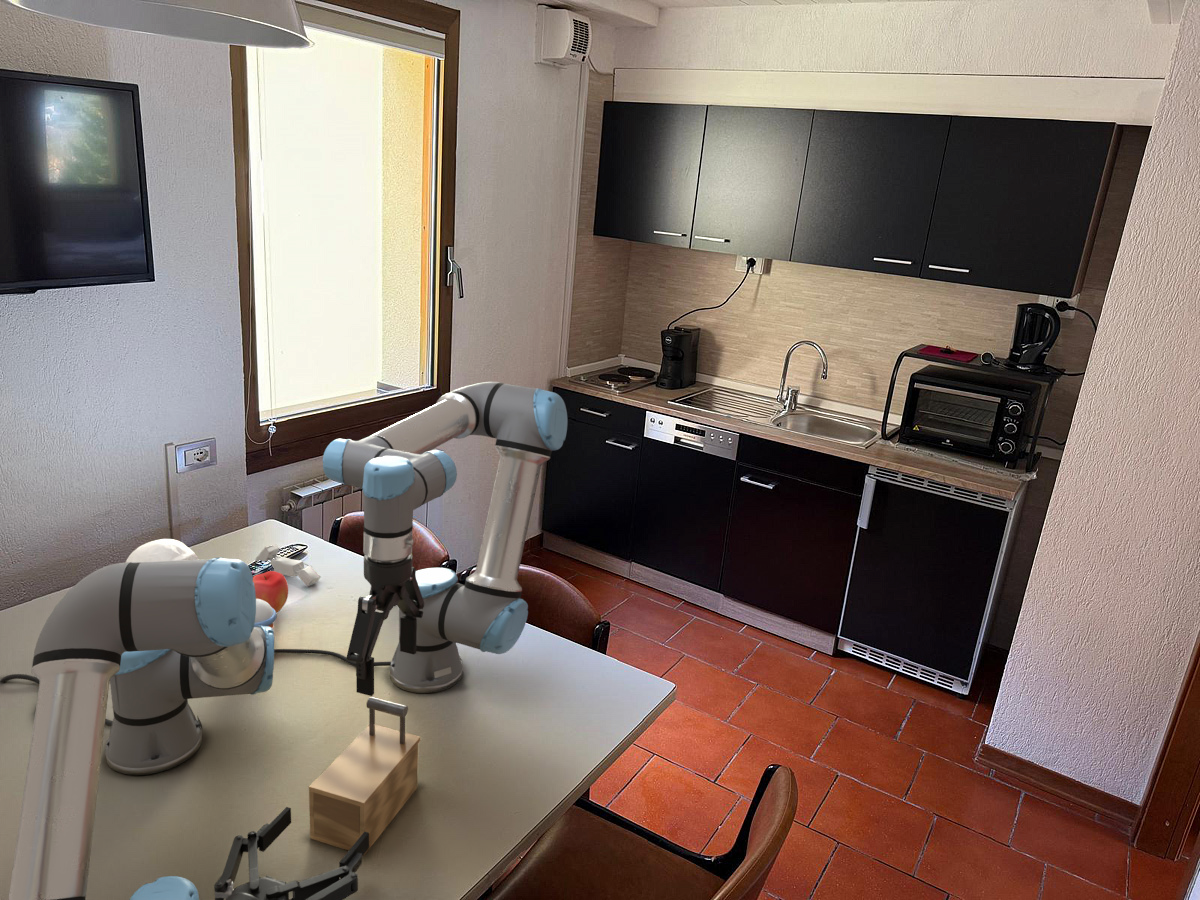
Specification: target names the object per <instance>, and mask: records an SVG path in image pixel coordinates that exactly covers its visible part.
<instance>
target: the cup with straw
mask: <svg viewBox="0 0 1200 900" xmlns="http://www.w3.org/2000/svg"><path fill="white" fill-rule="evenodd" d="M253 584H254V582H253ZM277 617H278V616H277V613H276V611H275V610H274V609H273V608H272V607H271V606H270V605H269V604H268V603H267V602H266V601H264V600H261V599H256V616H255V624H254V627H256V626H259V625H260V626H268V627H271V628H272V629H273V631H274V629H275V625H274V623H275V621H276V620H277ZM274 632H275V631H274Z"/></svg>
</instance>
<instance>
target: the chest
mask: <svg viewBox="0 0 1200 900" xmlns="http://www.w3.org/2000/svg"><path fill="white" fill-rule="evenodd" d="M418 771H419V743H418V744H417V746H416V747H415V748H414V749H413V750H412V751H411V753H410V754H409V755H408V756H407V757H406V759H405V760H404V761H403V762H402V763H401V764H400V766H399V767H398V768H397V769H396V770H395V772H394V773H393V774H392V775H391V776H390V777H389V779H388V780H387V781H386V782H385V783H384V785H383V786H382V787H381V788H380V789H379V790H378V792H377V793H376V794H375V795H374V796H373V798H372V799H371V800H370V801H369V802H368V803H367V805H366V806H365V807H361V806H357V805H354V804H351V803H347V802H344V801H341V800H337V799H334V798H331V797H327V796H324V795H321V794H317V793H314V792H311V791H309V790H308V807H309V808H308V809H309V838H310V839H311V840H314V841H318V842H321V843H324V844H326V845H330V846H332V847H336V848H339V849H342V850H345V851H347V852H348V851H349V850H350V849H351V847H352V846H353V845H354V844H355V843H356V841H357V840H358V839H359V838H360V836H361V835H362V834H363V833H364V832H368V833H369V848H368V850H367V851H366V852H365V853H364V855H363V856H366V854H367V853H368V852H369V850H370V849H371V848H372V846H373V845H374V844H375V843H376V841H377V840H378V839H379V838H380V836H381V835H382V834H383V832H384V831H385V830H386V829H387V828H388V826H389V825H390V823H391V822H392V821H393V820H394V818H395V817H396V816H397V815H398V813H400V812H399V811H401V809H402V808H403V807H404V805H405V804H406V803H407V802H408V800H409V799H410V798H411V796H412V795H413V794H415V791H416V790H417V789H418V780H419V779H418V778H419V777H418V773H419V772H418Z"/></svg>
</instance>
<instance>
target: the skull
mask: <svg viewBox="0 0 1200 900" xmlns="http://www.w3.org/2000/svg"><path fill="white" fill-rule="evenodd" d="M181 560H200V559H199V557H198V556H197V554H196V553H195V552H194V551H193V550H192V549H191V548H190V547H188V546H187V545H186V544H185V543H184V542H182V541H180V540H177V539H173V538H161V539H154V540H152V541H148V542H146V543H143V544H141V545H140V546H138V547H136V548H135V549H134V550H133V551H132V552H131V553H130V554H129V556H128V557H127V558H126V561H125V562H132V563H138V562H159V561H181Z"/></svg>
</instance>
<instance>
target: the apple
mask: <svg viewBox="0 0 1200 900" xmlns="http://www.w3.org/2000/svg"><path fill="white" fill-rule="evenodd" d="M253 582H254V586H255V594H256V599H261V600H264V601H266V602H267V603H268V604H269V605H270V606H271V607H272V608H273V609H274V610H275V611H276V614H278V613H279V612H280V611H281V610H282V609H283V607H284V606H285V605H286V603H287V600H288V597H289V584H288V581H287V579H286V577H285V575H282V574H281V573H278V572H275V571H268V570H267V571H266V572H264V573H259V574H255V575H254V576H253Z"/></svg>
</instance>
